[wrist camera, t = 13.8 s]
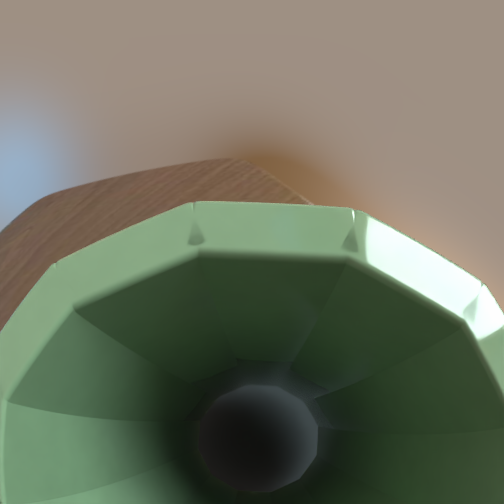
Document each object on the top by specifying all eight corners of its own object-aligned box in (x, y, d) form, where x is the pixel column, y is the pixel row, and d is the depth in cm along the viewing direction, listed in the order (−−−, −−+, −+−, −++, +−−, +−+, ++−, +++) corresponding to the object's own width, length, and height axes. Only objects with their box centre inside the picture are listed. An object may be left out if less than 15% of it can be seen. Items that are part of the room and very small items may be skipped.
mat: (387, 440, 12) (393, 441, 11) (235, 542, 9) (234, 547, 8) (280, 311, 16) (281, 306, 15) (132, 403, 13) (126, 402, 12)
